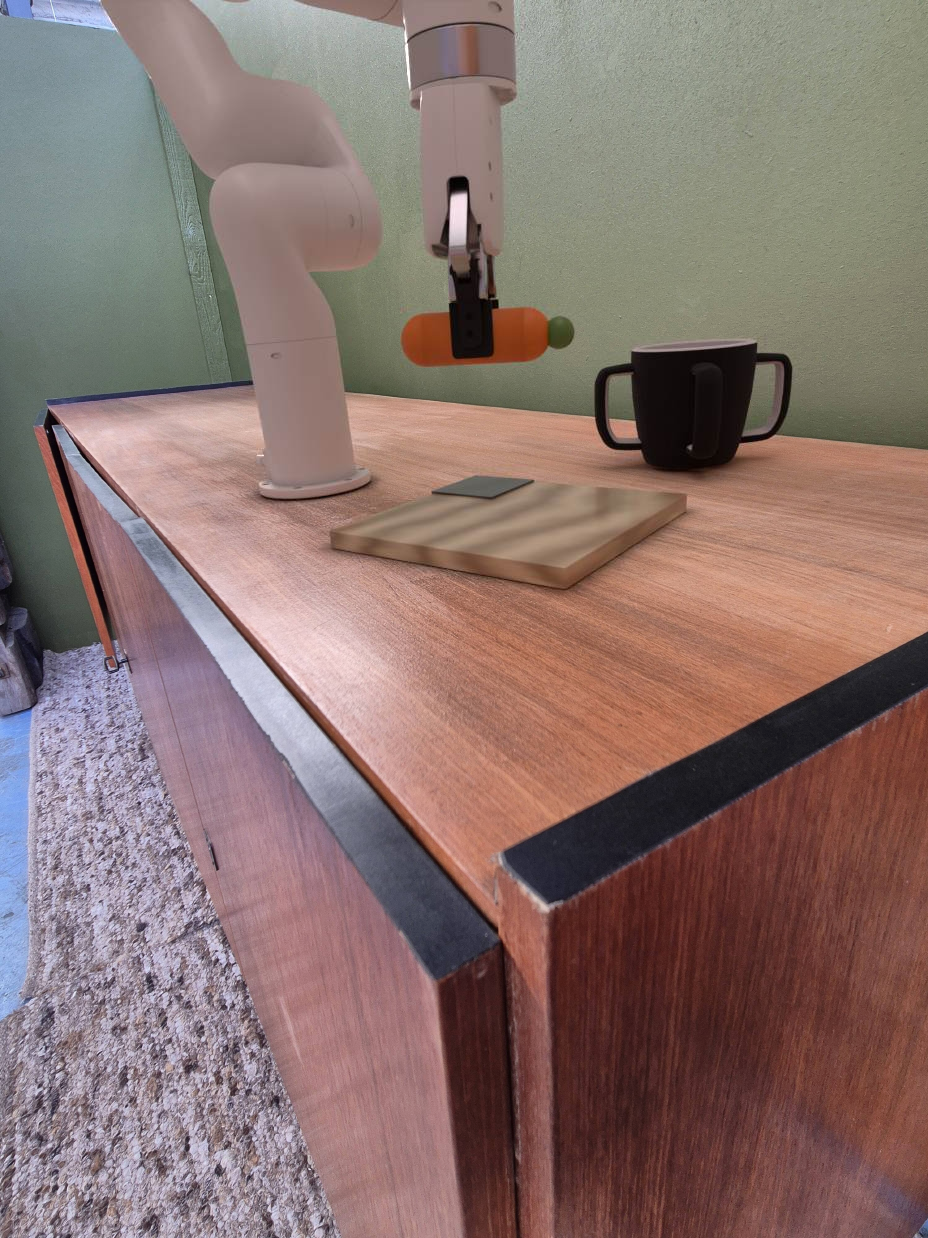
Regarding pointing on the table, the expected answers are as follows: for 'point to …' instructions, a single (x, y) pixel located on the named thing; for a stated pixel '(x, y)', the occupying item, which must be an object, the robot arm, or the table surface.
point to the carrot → (513, 331)
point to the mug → (693, 401)
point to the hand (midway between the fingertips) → (477, 352)
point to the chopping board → (514, 528)
